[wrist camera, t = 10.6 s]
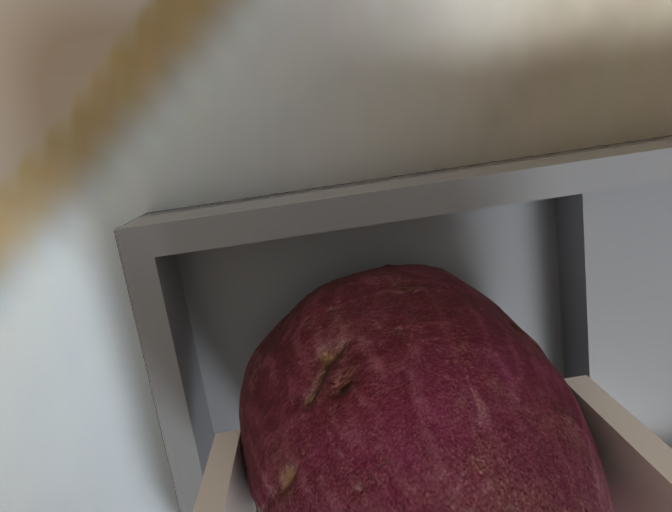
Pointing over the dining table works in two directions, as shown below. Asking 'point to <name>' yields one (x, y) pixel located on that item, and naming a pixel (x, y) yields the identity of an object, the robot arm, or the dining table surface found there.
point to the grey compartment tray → (414, 248)
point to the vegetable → (412, 406)
